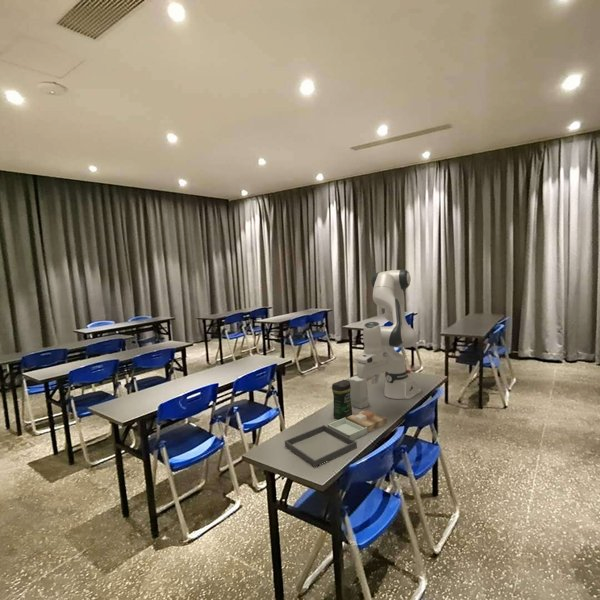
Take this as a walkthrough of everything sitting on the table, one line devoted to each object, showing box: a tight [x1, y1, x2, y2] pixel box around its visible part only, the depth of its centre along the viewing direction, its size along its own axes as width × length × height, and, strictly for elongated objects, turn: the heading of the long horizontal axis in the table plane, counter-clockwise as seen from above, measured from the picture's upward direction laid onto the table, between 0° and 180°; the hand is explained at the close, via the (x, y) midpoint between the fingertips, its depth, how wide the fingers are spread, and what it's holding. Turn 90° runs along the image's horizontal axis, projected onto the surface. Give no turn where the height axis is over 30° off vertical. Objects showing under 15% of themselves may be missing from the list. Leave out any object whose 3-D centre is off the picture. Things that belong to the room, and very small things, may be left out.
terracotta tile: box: [362, 410, 374, 420], centre depth 174 cm, size 4×4×2 cm
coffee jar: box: [331, 379, 353, 420], centre depth 183 cm, size 10×8×19 cm
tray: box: [327, 418, 368, 441], centre depth 167 cm, size 11×15×3 cm
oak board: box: [346, 409, 388, 434], centre depth 174 cm, size 13×14×3 cm
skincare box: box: [347, 375, 370, 410], centre depth 195 cm, size 8×7×16 cm
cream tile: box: [355, 414, 367, 422], centre depth 172 cm, size 4×4×2 cm
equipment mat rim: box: [284, 424, 358, 468], centre depth 156 cm, size 22×22×2 cm
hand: (375, 383), depth 177 cm, fingers closed
